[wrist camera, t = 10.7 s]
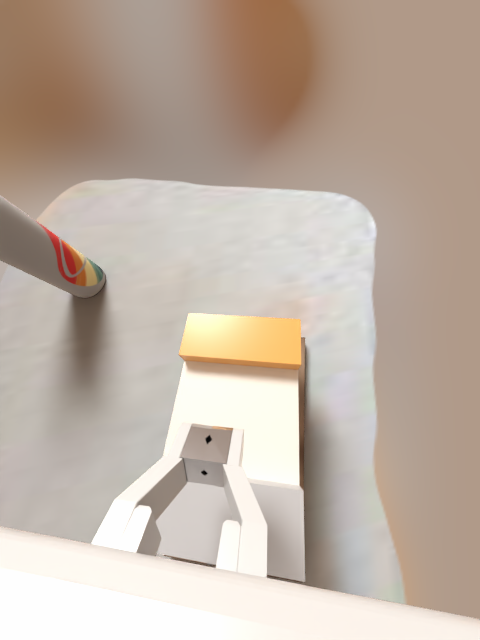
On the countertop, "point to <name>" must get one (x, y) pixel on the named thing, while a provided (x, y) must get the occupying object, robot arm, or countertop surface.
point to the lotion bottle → (45, 254)
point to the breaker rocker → (259, 434)
